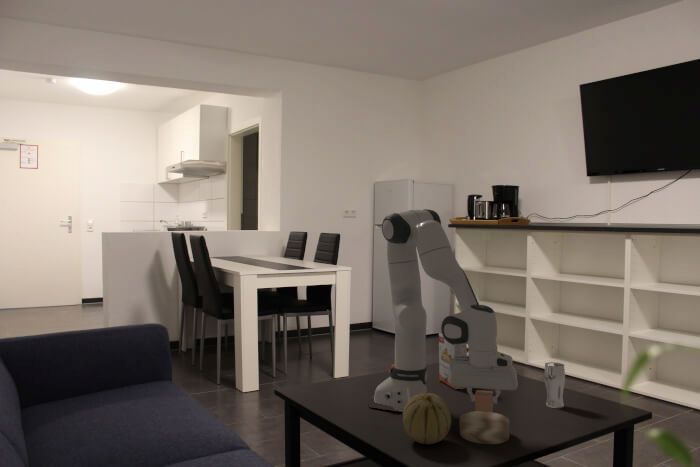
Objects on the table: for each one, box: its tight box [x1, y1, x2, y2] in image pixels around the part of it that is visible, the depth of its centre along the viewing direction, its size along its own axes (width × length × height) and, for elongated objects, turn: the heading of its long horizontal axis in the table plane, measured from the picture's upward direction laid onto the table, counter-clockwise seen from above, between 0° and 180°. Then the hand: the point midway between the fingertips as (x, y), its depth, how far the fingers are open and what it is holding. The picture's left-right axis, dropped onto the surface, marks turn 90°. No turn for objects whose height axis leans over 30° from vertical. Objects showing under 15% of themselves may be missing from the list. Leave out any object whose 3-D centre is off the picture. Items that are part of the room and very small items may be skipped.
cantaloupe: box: [402, 392, 452, 445], centre depth 168 cm, size 15×15×15 cm
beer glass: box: [544, 361, 566, 409], centre depth 201 cm, size 7×7×15 cm
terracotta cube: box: [474, 389, 494, 412], centre depth 173 cm, size 5×5×5 cm
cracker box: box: [438, 332, 468, 390], centre depth 230 cm, size 14×6×21 cm, turn 17°
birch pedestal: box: [459, 410, 510, 445], centre depth 173 cm, size 15×15×5 cm
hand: (484, 402), depth 173 cm, fingers closed on terracotta cube, 5 cm apart
